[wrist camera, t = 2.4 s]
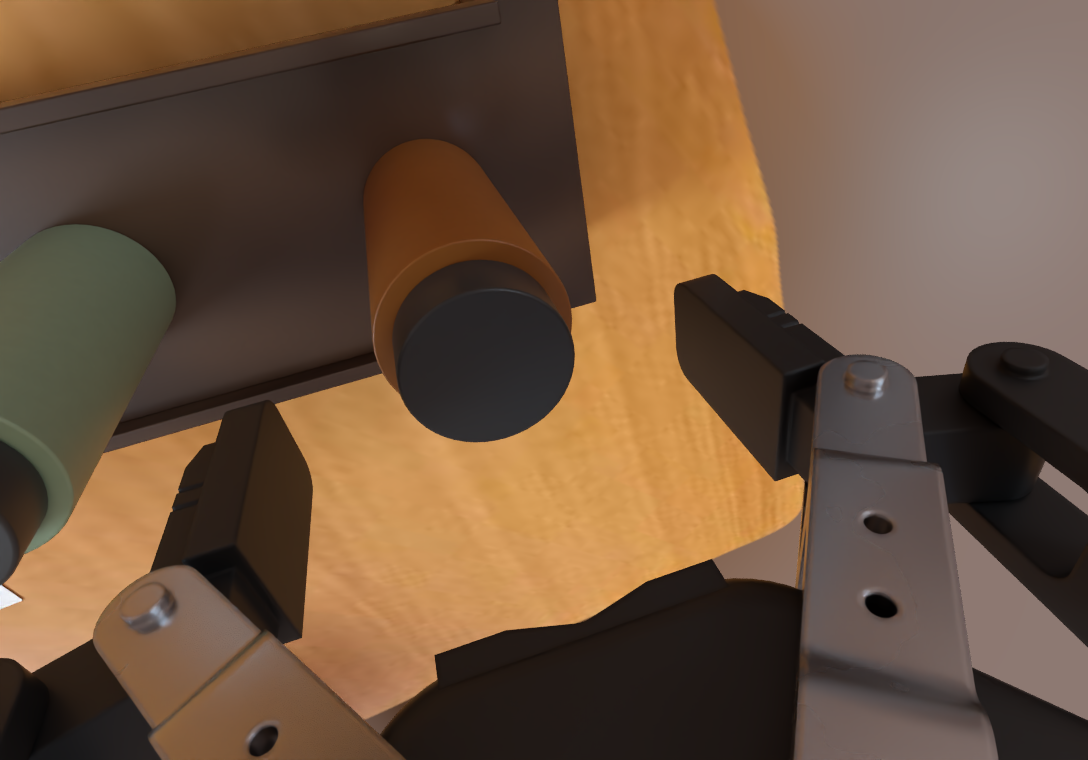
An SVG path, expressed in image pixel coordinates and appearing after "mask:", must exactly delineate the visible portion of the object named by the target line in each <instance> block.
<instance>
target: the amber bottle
mask: <svg viewBox="0 0 1088 760" xmlns="http://www.w3.org/2000/svg"><path fill="white" fill-rule="evenodd" d="M363 208H364V223H365V238H366V253H367V268H368V283H369V298H370V313H371V328H372V341H373V348H374V353H375V356H376V360H377V363H378V365H379V367H380V369H381V371H382V373H383V375H384V376H385V378H386V379H387V381H388V382H389V383H390V385H391V386H392V387H393V388H394V389H395V390H396V391H397V392H398V393H399V394H400V395H401V398H402V400H403V402H404V404H405V406H406V407H407V409H408V410H409V411H410V413H411V414H412V415H413V416H414V417H415V418H416V419H417V420H418V421H419V422H420V423H421V424H423V425H424V426H425V427H426V428H428V429H430V430H431V431H433V432H435V433H437V434H439V435H441V436H444V437H447V438H450V439H453V440H459V441H464V442H488V441H495V440H499V439H503V438H507V437H510V436H513V435H515V434H518V433H520V432H522V431H524V430H526V429H528V428H530V427H531V426H533V425H535V424H536V423H537V422H539V421H540V420H541V419H543V418H544V417H545V416H546V415H547V414H548V413H549V412H550V411H551V410H552V409H553V408H554V407H555V406H556V405H557V403H558V402H559V401H560V399H561V398H562V396H563V395H564V393H565V391H566V389H567V387H568V385H569V382H570V380H571V377H572V373H573V368H574V358H575V352H574V343H573V339H572V335H571V327H572V314H571V306H570V302H569V298H568V295H567V292H566V290H565V287H564V285H563V284H562V282H561V280H560V279H559V277H558V275H557V274H556V273H555V271H554V270H553V268H552V267H551V265H550V264H549V263H548V261H547V260H546V258H545V257H544V256H543V254H542V253H541V251H540V250H539V249H538V247H537V246H536V244H535V243H534V242H533V240H532V239H531V237H530V236H529V234H528V233H527V232H526V230H525V229H524V227H523V226H522V225H521V223H520V222H519V220H518V219H517V218H516V216H515V215H514V213H513V212H512V211H511V209H510V208H509V206H508V205H507V203H506V202H505V201H504V199H503V198H502V196H501V195H500V194H499V192H498V191H497V189H496V188H495V187H494V185H493V184H492V182H491V181H490V180H489V178H488V177H487V175H486V174H485V172H484V171H483V170H482V168H481V167H480V166H479V164H478V163H477V162H476V161H475V160H474V159H473V158H472V157H471V156H470V155H469V154H468V153H466V152H465V151H464V150H462V149H461V148H459V147H457V146H455V145H453V144H450V143H448V142H445V141H441V140H435V139H417V140H412V141H408V142H405V143H402V144H400V145H398V146H396V147H394V148H392V149H391V150H389V151H388V152H387V153H386V154H384V155H383V156H382V157H381V158H380V159H379V160H378V162H377V163H376V164H375V165H374V167H373V169H372V170H371V172H370V174H369V176H368V178H367V181H366V185H365V188H364V195H363Z"/></svg>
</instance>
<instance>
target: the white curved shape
mask: <svg viewBox="0 0 1088 760" xmlns="http://www.w3.org/2000/svg"><path fill="white" fill-rule="evenodd" d="M20 601H22V599H20V598H19V597H18V596H16V595H15V594H13V593H12V592H10V591H9V590H8V589H6V588H5V587H3V586H2V585H1V586H0V609H2V608H5V607H7V606H10V605H12V604H15V603H17V602H20Z"/></svg>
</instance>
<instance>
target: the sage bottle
mask: <svg viewBox="0 0 1088 760" xmlns="http://www.w3.org/2000/svg"><path fill="white" fill-rule="evenodd" d="M175 308H176V295H175V289H174V286H173V283H172V281H171V279H170V277H169V275H168V273H167V271H166V270H165V268H164V267H163V265H162V264H161V263H160V262H159V261H158V260H157V258H156V257H155V256H154V255H153V254H151V253H150V252H149V251H148V250H147V249H146V248H144V247H143V246H142V245H140V244H139V243H137V242H135V241H134V240H132V239H130V238H128V237H126V236H124V235H122V234H120V233H117V232H115V231H112V230H109V229H105V228H101V227H97V226H91V225H79V224H72V225H61V226H55V227H52V228H49V229H45V230H43V231H41V232H39V233H37V234H35V235H34V236H32V237H31V238H29V239H28V240H27V241H25V242H24V243H23V244H22V245H21V246H19V247H18V248H17V249H16V250H14V251H13V252H12V253H11V254H9V255H8V256H7V257H6V258H4V259H3V260H2V261H1V262H0V586H1V585H2V584H3V583H5V582H6V581H7V580H8V579H9V578H10V576H11V575H12V574H13V573H14V571H15V569H16V567H17V566H18V564H19V562H20V560H21V559H22V557H23V555H24V554H26V553H28V552H30V551H32V550H34V549H36V548H38V547H40V546H41V545H43V544H45V543H46V542H48V541H49V540H51V539H52V538H53V537H54V536H55V535H56V534H58V533H59V532H60V530H61V529H62V528H63V527H64V526H65V524H66V523H67V521H68V519H69V517H70V516H71V514H72V512H73V510H74V508H75V506H76V504H77V502H78V500H79V498H80V496H81V494H82V492H83V491H84V489H85V487H86V485H87V483H88V481H89V479H90V477H91V475H92V473H93V471H94V469H95V467H96V466H97V464H98V462H99V460H100V458H101V456H102V454H103V452H104V450H105V448H106V446H107V444H108V442H109V440H110V439H111V437H112V435H113V433H114V431H115V429H116V427H117V425H118V423H119V421H120V419H121V417H122V415H123V413H124V412H125V410H126V408H127V406H128V404H129V402H130V400H131V398H132V396H133V394H134V392H135V390H136V388H137V387H138V385H139V383H140V381H141V379H142V377H143V375H144V373H145V371H146V369H147V367H148V365H149V363H150V361H151V360H152V358H153V356H154V354H155V352H156V350H157V348H158V346H159V344H160V342H161V340H162V338H163V336H164V334H165V333H166V331H167V329H168V327H169V325H170V323H171V321H172V319H173V316H174V313H175Z"/></svg>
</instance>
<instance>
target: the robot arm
mask: <svg viewBox="0 0 1088 760" xmlns="http://www.w3.org/2000/svg"><path fill="white" fill-rule="evenodd" d="M674 307H675V330H676V350H677V356H678V360H679V364H680V366H681V369H682V371H683V373H684V375H685V376H686V378H687V379H688V380H689V382H690V383H691V384H692V385H693V386H694V387H695V389H696V390H697V391H698V392H699V393H700V394H701V396H702V397H703V398H704V399H705V400H706V401H707V403H708V404H709V405H710V406H711V407H712V408H713V410H714V411H715V412H716V413H717V414H718V415H719V417H720V418H721V419H722V420H723V421H724V422H725V424H726V425H727V426H728V427H729V428H730V429H731V431H732V432H733V433H734V434H735V435H736V436H737V438H738V439H739V440H740V441H741V442H742V443H743V445H744V446H745V447H746V448H747V449H748V450H749V452H750V453H751V454H752V455H753V456H754V457H755V459H756V460H757V461H758V462H759V463H760V464H761V466H762V467H763V468H764V469H765V470H766V471H767V473H768V474H769V475H770V476H771V477H772V478H773V480H774V481H778V480H781V479H784V478H787V477H790V476H793V475H796V474H799V475H800V476H801V477H802V478H803V479H804V480H805V484H804V492H803V503H802V515H801V527H800V540H799V552H798V563H797V575H796V586H795V588H794V587H791V586H788V585H784V584H780V583H775V582H771V581H765V580H757V579H736V578H733V579H724V578H723V576H722V574H721V573H720V571H719V569H718V568H717V566H716V565H715V563H714V562H713V560H712V559H710V560H708V561H705V562H702V563H699V564H696V565H693V566H690V567H687V568H685V569H682V570H679V571H676V572H673V573H670V574H667V575H664V576H662V577H659V578H656V579H653V580H650V581H647V582H645V583H644V584H642V585H641V586H639V587H638V588H636V589H635V590H633V591H632V592H630V593H629V594H627V595H626V596H624V597H622V598H621V599H619V600H618V601H616V602H615V603H613V604H612V605H610V606H609V607H607V608H606V609H604V610H603V611H601V612H599V613H598V614H596V615H595V616H593V617H592V618H590V619H588V620H587V621H584V622H581V623H576V624H567V625H557V626H547V627H537V628H527V629H517V630H506V631H503V632H500V633H497V634H494V635H492V636H489V637H486V638H483V639H480V640H477V641H474V642H471V643H469V644H466V645H463V646H460V647H457V648H454V649H451V650H448V651H446V652H443V653H440V654H437V655H435V662H436V670H437V678H438V680H436V681H435V682H433V683H432V684H430V685H429V686H427V687H426V688H425V689H423V690H422V691H421V692H420V693H418V694H417V695H416V696H415V697H413V698H412V699H411V700H410V701H409V702H408V703H407V704H406V705H405V706H404V707H403V708H402V709H401V710H400V711H399V712H398V713H397V714H396V715H395V716H394V718H393V719H392V720H391V721H390V723H389V724H388V725H387V726H386V727H385V729H384V730H383V731H382V733H381V734H379V733H377V732H376V731H375V730H374V729H373V728H372V727H371V726H370V725H369V724H368V723H367V722H366V721H365V720H364V719H362V718H361V717H360V716H359V715H358V714H357V713H356V712H355V711H354V710H353V709H352V708H351V707H350V706H349V705H347V704H346V703H345V702H344V701H343V700H342V699H341V698H340V697H339V696H338V695H337V694H336V693H335V692H334V691H333V690H331V689H330V688H329V687H328V686H327V685H326V684H325V683H324V682H323V681H322V680H321V679H320V678H319V677H318V676H316V675H315V674H314V673H313V672H312V671H311V670H310V669H309V668H308V667H307V666H306V665H305V664H304V663H303V662H301V661H300V660H299V659H298V658H297V657H296V656H295V655H294V654H293V653H292V652H291V651H290V650H289V649H288V648H287V647H285V646H284V645H283V644H285V643H288V642H291V641H294V640H297V639H300V638H302V630H303V617H304V603H305V590H306V576H307V563H308V549H309V536H310V522H311V509H312V495H313V486H312V479H311V475H310V471H309V468H308V465H307V463H306V461H305V459H304V457H303V455H302V453H301V451H300V449H299V448H298V446H297V444H296V442H295V440H294V438H293V437H292V435H291V433H290V431H289V429H288V427H287V426H286V424H285V422H284V420H283V418H282V416H281V415H280V413H279V411H278V409H277V407H276V406H275V405H274V403H273V402H272V401H270V400H264V401H261V402H257V403H254V404H250V405H246V406H243V407H239V408H236V409H232V410H229V411H226V412H225V414H224V416H223V419H222V422H221V426H220V429H219V433H218V436H217V439H216V442H215V443H211V444H208V445H205V446H203V447H202V449H201V450H200V451H199V452H198V453H197V455H196V456H195V457H194V458H193V460H192V461H191V462H190V463H189V464H188V466H187V467H186V468H185V471H184V474H183V477H182V480H181V483H180V486H179V489H178V490H179V494H177V495H176V498H175V500H174V503H173V506H172V509H173V512H170V515H169V518H168V521H167V524H166V527H165V530H164V533H163V536H162V539H161V541H160V544H159V547H158V550H157V553H156V556H155V559H154V562H153V565H152V568H151V571H150V573H148V574H146V575H144V576H143V577H141V578H139V579H137V580H136V581H134V582H133V583H132V584H130V585H129V586H127V587H126V588H125V589H124V590H122V591H121V592H120V593H119V594H118V595H117V596H116V597H115V598H114V599H113V600H112V601H111V602H110V603H109V605H108V606H107V607H106V608H105V610H104V611H103V613H102V614H101V616H100V617H99V619H98V621H97V623H96V626H95V629H94V633H93V639H91V640H90V641H88V642H86V643H85V644H83V645H81V646H79V647H77V648H76V649H74V650H72V651H70V652H69V653H67V654H65V655H63V656H61V657H60V658H58V659H56V660H54V661H52V662H51V663H49V664H47V665H45V666H44V667H42V668H40V669H38V670H36V671H35V672H33V673H30V672H29V671H28V670H27V669H25V668H24V667H23V666H22V665H20V664H19V663H18V662H16V661H15V660H12V659H9V658H0V760H1088V720H1086V719H1083V718H1081V717H1079V716H1077V715H1075V714H1073V713H1071V712H1068V711H1066V710H1064V709H1062V708H1059V707H1057V706H1055V705H1053V704H1051V703H1049V702H1047V701H1044V700H1042V699H1040V698H1038V697H1036V696H1033V695H1031V694H1029V693H1027V692H1025V691H1023V690H1020V689H1018V688H1016V687H1014V686H1012V685H1009V684H1007V683H1005V682H1003V681H1001V680H999V679H996V678H994V677H992V676H990V675H988V674H986V673H983V672H981V671H979V670H976V669H974V668H972V665H971V657H970V651H969V644H968V638H967V631H966V624H965V618H964V611H963V605H962V597H961V591H960V584H959V577H958V571H957V564H956V558H955V551H954V544H953V538H952V532H951V524H950V518H949V513H950V514H951V515H952V516H953V517H954V518H955V519H956V520H957V521H958V522H959V523H960V524H961V525H962V526H963V527H964V528H965V529H966V530H967V531H968V532H969V533H970V534H971V535H972V536H974V537H975V538H976V539H977V540H978V541H979V542H980V543H981V544H982V545H983V546H984V547H985V548H986V549H987V550H988V551H989V552H990V553H991V554H992V555H993V556H994V557H995V558H996V559H997V560H998V561H999V562H1000V563H1001V564H1002V565H1003V566H1004V567H1005V568H1006V569H1008V570H1009V571H1010V572H1011V573H1012V574H1013V575H1014V576H1015V577H1016V578H1017V579H1018V580H1019V581H1020V582H1021V583H1022V584H1023V585H1024V586H1025V587H1026V588H1027V589H1028V590H1029V591H1030V592H1031V593H1032V594H1033V595H1034V596H1035V597H1036V598H1037V599H1038V600H1039V601H1041V602H1042V603H1043V604H1044V605H1045V606H1046V607H1047V608H1048V609H1049V610H1050V611H1051V612H1052V613H1053V614H1054V615H1055V616H1056V617H1057V618H1058V619H1059V620H1060V621H1061V622H1062V623H1063V624H1064V625H1065V626H1066V627H1067V628H1069V630H1070V631H1072V632H1073V633H1074V634H1075V635H1076V636H1077V637H1078V638H1079V639H1080V640H1081V641H1082V642H1083V643H1084V644H1085V645H1086V646H1087V647H1088V515H1086V514H1085V513H1084V512H1082V511H1081V510H1080V509H1079V508H1077V507H1076V506H1075V505H1074V504H1072V503H1071V502H1070V501H1068V500H1067V499H1066V498H1065V497H1063V496H1062V495H1061V494H1059V493H1058V492H1057V491H1055V490H1054V489H1053V488H1052V487H1050V486H1049V485H1048V484H1047V483H1045V482H1044V481H1043V480H1041V479H1040V478H1039V477H1038V476H1039V474H1040V472H1041V469H1042V467H1043V465H1044V462H1045V461H1047V462H1048V463H1049V464H1051V465H1052V466H1053V467H1055V468H1056V469H1057V470H1059V471H1060V472H1061V473H1063V474H1064V475H1065V476H1067V477H1068V478H1070V479H1071V480H1072V481H1073V482H1075V483H1076V484H1077V485H1079V486H1080V487H1082V488H1083V489H1084V490H1085V491H1086V492H1087V493H1088V370H1087V369H1085V368H1084V367H1082V366H1080V365H1078V364H1077V363H1075V362H1073V361H1071V360H1070V359H1068V358H1066V357H1064V356H1062V355H1060V354H1058V353H1056V352H1054V351H1052V350H1049V349H1046V348H1043V347H1040V346H1035V345H1031V344H1025V343H1018V342H997V343H989V344H985V345H982V346H979V347H977V348H976V349H974V350H972V352H970V353H969V355H968V357H967V361H966V364H965V367H964V370H963V373H961V374H948V375H936V376H923V377H914V376H913V374H912V373H911V372H910V371H909V370H908V369H906V368H905V367H903V366H902V365H900V364H898V363H897V362H894V361H892V360H889V359H886V358H882V357H878V356H872V355H858V354H857V355H847V356H845V355H843V354H842V353H841V352H839V351H838V350H837V349H835V348H834V347H833V346H831V345H830V344H829V343H827V342H826V341H824V340H823V339H822V338H821V337H819V336H818V335H817V334H815V333H814V332H813V331H811V330H810V329H808V328H807V327H806V326H805V325H803V324H799V322H798V320H797V319H795V318H794V317H793V316H791V315H790V314H788V313H787V314H785V310H783V309H782V308H781V307H779V306H778V305H777V304H775V303H774V302H773V301H771V300H770V299H769V298H766V297H763V296H760V295H757V294H754V293H751V292H748V291H746V290H742V291H739V292H737V291H736V290H735V289H733V288H732V287H731V286H730V285H728V284H727V283H726V282H725V281H723V280H722V279H721V278H720V277H718V276H717V275H715V274H710V275H707V276H703V277H700V278H696V279H693V280H689V281H686V282H682V283H679V284H677V285H676V287H675V290H674Z"/></svg>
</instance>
